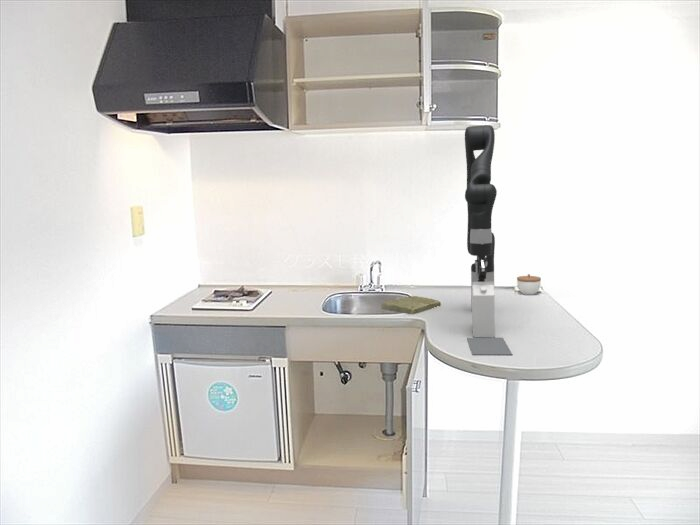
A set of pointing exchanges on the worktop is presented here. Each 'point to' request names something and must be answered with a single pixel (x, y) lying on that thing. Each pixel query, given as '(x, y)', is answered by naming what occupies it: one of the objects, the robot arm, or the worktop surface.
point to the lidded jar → (528, 284)
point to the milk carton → (483, 309)
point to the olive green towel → (410, 304)
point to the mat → (488, 346)
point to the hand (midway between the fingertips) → (481, 289)
